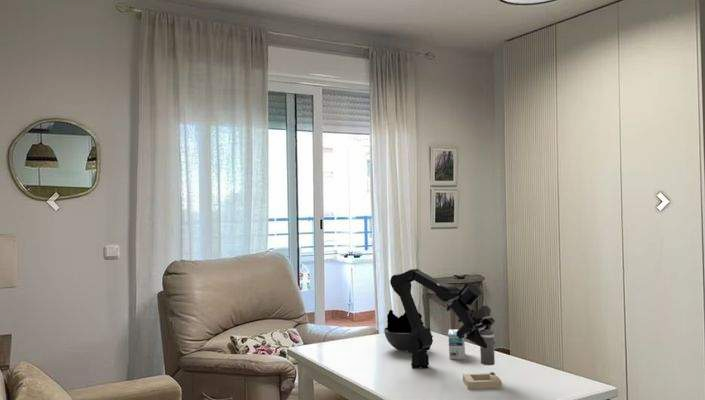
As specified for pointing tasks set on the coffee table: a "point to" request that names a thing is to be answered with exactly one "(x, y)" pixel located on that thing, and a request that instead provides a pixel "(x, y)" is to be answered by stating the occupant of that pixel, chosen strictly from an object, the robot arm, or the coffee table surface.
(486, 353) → the canister
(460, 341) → the light bulb box
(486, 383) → the tan square frame
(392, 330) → the coal bowl
